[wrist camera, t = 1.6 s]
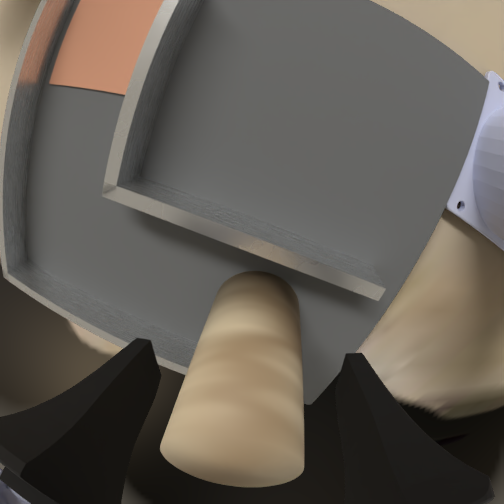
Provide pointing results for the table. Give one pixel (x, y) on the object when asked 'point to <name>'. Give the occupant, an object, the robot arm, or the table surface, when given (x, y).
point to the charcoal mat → (252, 156)
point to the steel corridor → (137, 189)
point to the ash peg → (243, 389)
